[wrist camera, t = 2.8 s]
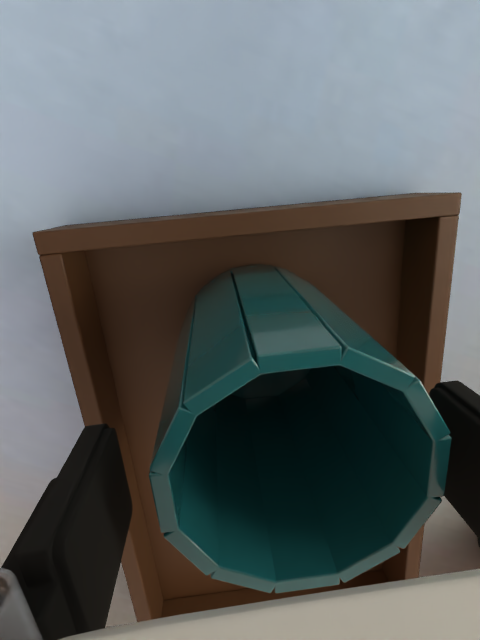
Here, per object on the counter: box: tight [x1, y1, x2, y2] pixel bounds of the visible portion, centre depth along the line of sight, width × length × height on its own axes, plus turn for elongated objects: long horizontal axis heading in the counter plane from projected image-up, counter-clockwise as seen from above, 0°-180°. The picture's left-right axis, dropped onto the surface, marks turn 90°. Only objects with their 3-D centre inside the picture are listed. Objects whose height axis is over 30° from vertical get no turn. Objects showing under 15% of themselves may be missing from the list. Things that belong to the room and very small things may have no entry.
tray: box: [33, 193, 462, 622], centre depth 18 cm, size 24×16×3 cm, turn 5°
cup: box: [149, 264, 452, 593], centre depth 13 cm, size 7×7×10 cm
